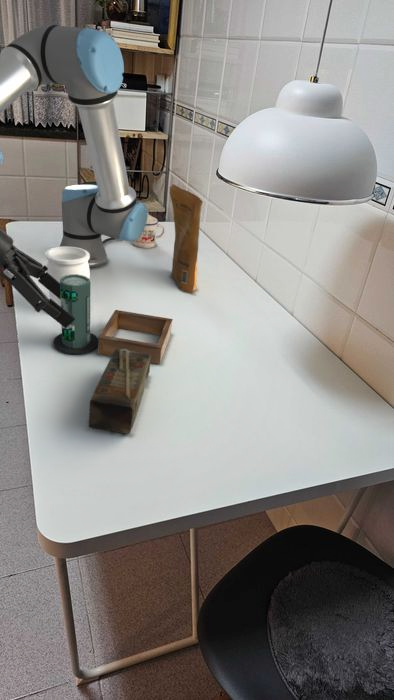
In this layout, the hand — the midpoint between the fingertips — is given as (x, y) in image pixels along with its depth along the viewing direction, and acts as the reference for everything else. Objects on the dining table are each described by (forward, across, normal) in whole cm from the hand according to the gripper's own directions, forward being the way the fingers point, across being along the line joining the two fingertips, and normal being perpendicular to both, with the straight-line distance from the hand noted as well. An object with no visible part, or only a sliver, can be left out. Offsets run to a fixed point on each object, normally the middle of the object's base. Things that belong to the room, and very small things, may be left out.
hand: (67, 308), depth 103 cm
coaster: (+8, 0, -5) cm, 9 cm away
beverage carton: (+12, +23, -1) cm, 26 cm away
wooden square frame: (+17, +2, +4) cm, 18 cm away
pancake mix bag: (+32, -32, +19) cm, 50 cm away
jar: (+8, -18, -5) cm, 20 cm away
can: (+7, 0, -5) cm, 9 cm away
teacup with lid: (+31, -68, +18) cm, 76 cm away
